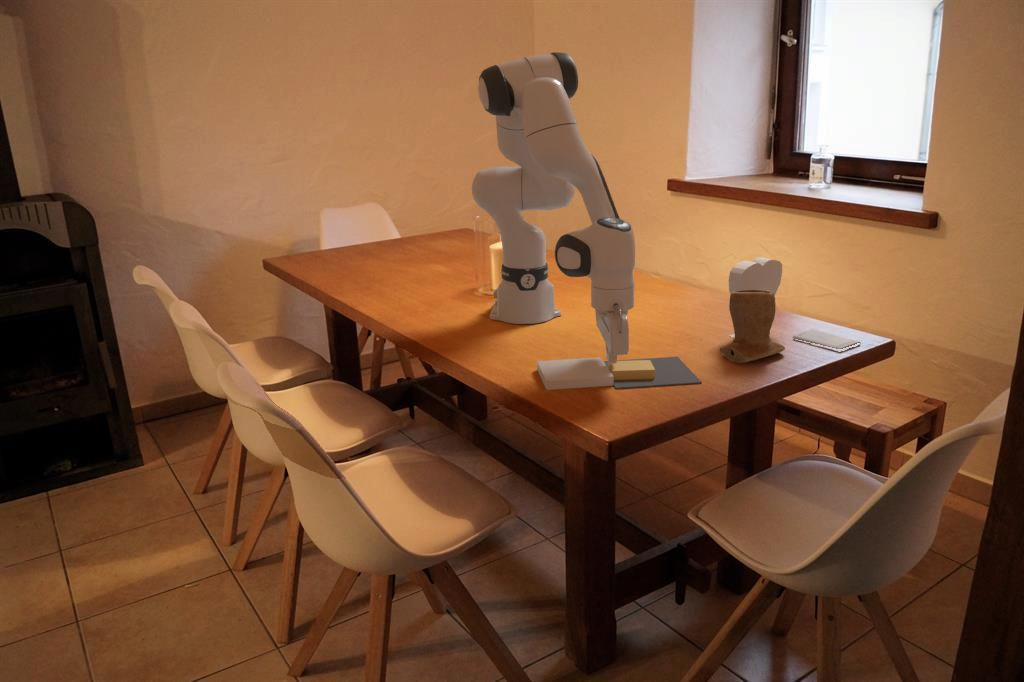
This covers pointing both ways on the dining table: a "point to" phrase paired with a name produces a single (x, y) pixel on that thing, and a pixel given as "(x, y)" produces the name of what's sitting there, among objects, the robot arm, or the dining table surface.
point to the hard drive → (825, 339)
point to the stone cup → (751, 326)
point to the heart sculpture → (756, 275)
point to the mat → (661, 374)
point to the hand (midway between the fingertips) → (611, 361)
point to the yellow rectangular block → (632, 370)
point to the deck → (574, 373)
